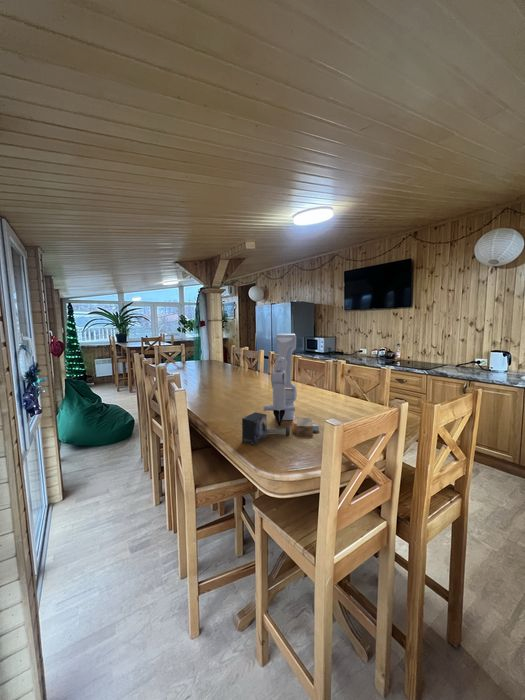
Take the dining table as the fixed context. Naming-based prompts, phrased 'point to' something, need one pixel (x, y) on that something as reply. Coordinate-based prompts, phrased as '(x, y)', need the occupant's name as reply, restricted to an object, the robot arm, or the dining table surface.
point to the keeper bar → (275, 431)
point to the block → (304, 426)
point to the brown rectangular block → (315, 426)
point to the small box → (254, 428)
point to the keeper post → (287, 431)
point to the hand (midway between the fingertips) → (279, 425)
